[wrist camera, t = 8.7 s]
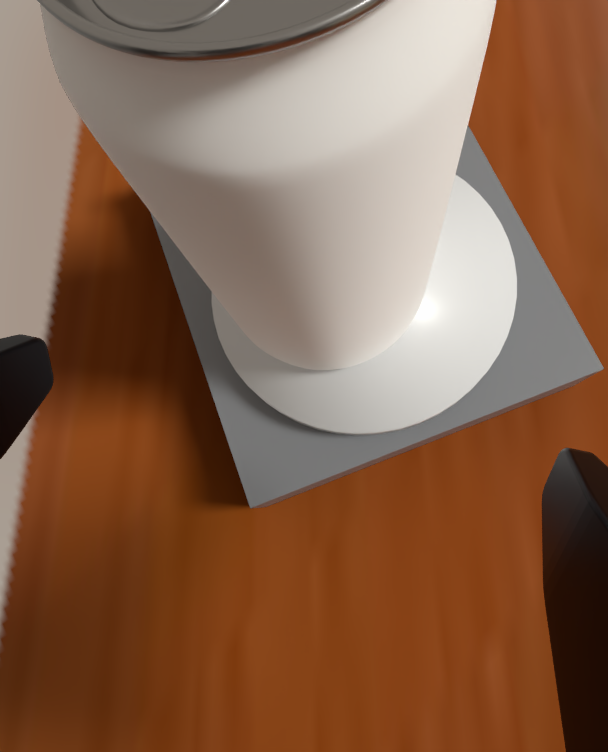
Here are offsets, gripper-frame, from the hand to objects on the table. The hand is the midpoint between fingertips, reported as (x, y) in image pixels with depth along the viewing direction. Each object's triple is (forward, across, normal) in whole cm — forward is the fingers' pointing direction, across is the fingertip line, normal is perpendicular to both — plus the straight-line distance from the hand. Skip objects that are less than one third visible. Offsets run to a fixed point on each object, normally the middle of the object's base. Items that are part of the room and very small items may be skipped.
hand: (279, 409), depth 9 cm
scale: (+12, +1, +3) cm, 13 cm away
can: (+9, +1, +1) cm, 9 cm away
